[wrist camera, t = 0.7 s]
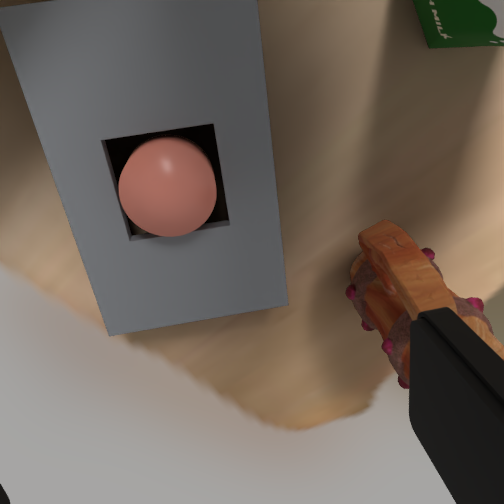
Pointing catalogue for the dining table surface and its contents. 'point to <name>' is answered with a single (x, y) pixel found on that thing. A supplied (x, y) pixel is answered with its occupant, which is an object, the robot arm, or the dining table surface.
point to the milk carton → (461, 22)
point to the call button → (168, 186)
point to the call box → (147, 121)
